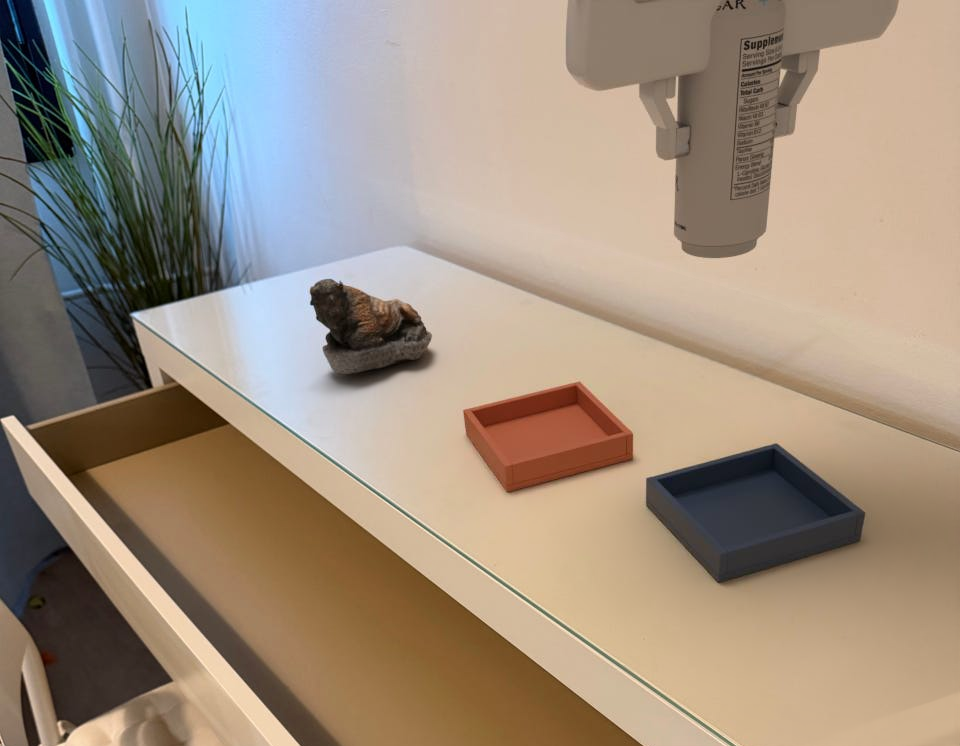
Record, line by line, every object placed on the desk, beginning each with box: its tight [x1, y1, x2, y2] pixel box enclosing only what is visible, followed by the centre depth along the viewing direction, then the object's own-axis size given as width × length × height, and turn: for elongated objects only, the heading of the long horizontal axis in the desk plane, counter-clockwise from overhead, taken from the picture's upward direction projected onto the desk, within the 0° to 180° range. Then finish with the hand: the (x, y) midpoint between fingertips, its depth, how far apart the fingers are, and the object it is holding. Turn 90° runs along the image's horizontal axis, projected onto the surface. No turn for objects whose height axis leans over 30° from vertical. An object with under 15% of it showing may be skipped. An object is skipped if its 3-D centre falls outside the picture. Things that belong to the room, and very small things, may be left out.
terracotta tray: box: [462, 381, 634, 493], centre depth 80 cm, size 11×11×2 cm
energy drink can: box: [673, 0, 786, 259], centre depth 58 cm, size 6×6×15 cm
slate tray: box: [645, 442, 866, 583], centre depth 68 cm, size 11×11×2 cm
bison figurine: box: [309, 278, 433, 375], centre depth 94 cm, size 12×7×10 cm, turn 122°
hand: (725, 146), depth 59 cm, fingers closed on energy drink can, 6 cm apart
